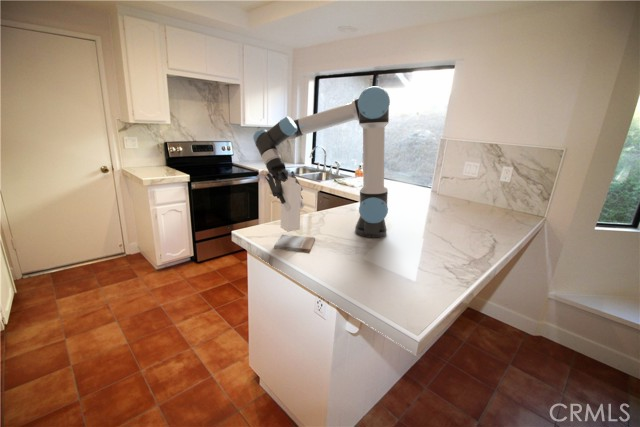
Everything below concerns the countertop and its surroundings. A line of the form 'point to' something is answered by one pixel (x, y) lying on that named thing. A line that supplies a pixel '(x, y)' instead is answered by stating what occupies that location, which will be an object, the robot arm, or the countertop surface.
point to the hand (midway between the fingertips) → (296, 208)
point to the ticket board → (295, 243)
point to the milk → (293, 195)
